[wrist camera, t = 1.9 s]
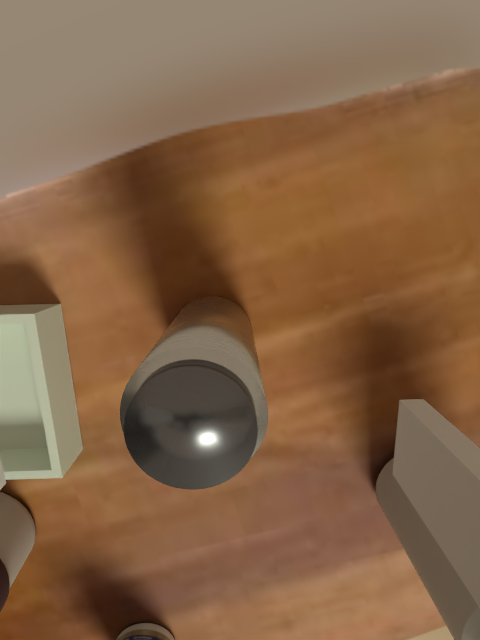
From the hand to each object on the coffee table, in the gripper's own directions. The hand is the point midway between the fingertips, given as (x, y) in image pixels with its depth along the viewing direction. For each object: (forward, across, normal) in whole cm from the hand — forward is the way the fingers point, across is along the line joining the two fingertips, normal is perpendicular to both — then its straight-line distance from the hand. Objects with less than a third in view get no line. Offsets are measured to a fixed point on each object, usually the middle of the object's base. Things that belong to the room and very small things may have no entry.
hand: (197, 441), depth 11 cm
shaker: (+13, 0, 0) cm, 13 cm away
